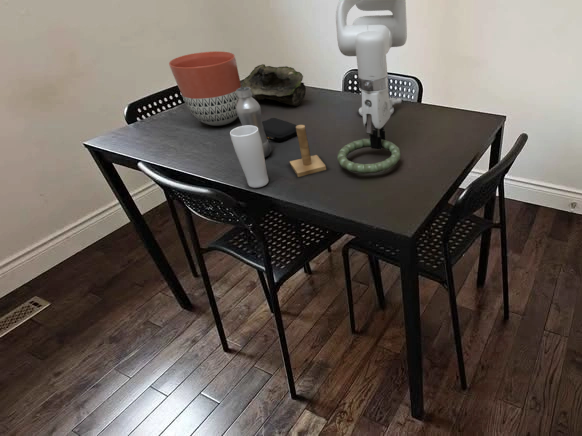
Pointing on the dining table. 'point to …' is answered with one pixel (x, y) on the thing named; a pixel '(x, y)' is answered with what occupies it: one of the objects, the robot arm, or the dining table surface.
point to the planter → (208, 85)
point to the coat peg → (306, 156)
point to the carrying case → (279, 129)
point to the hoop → (368, 167)
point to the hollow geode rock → (276, 84)
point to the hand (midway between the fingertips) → (378, 145)
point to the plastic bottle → (251, 114)
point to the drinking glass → (250, 154)
